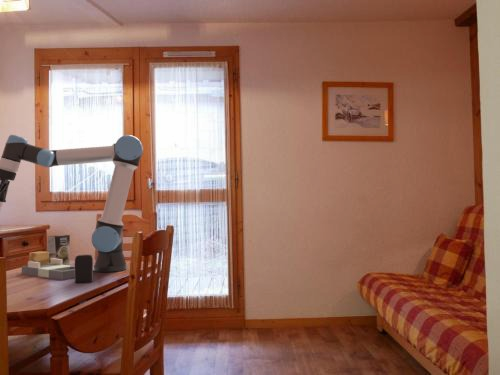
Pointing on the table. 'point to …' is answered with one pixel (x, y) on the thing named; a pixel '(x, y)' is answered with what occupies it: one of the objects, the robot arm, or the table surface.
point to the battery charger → (83, 268)
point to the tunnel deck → (50, 270)
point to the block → (39, 257)
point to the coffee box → (59, 248)
